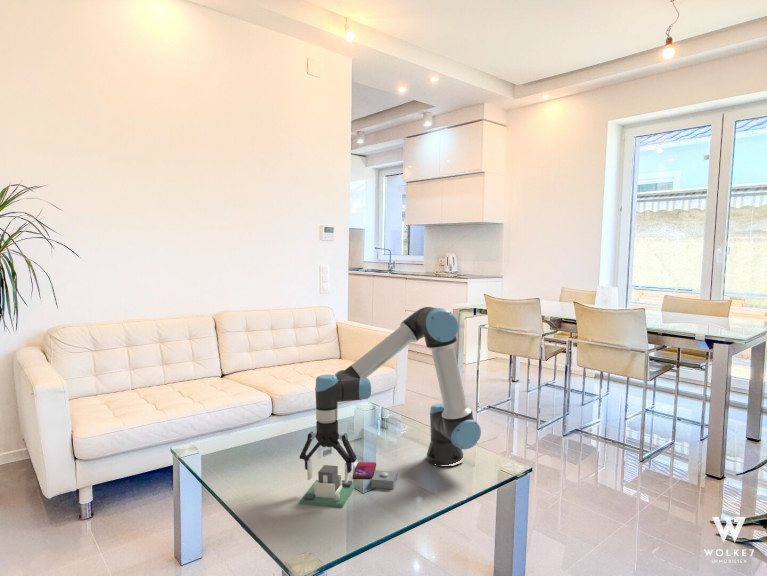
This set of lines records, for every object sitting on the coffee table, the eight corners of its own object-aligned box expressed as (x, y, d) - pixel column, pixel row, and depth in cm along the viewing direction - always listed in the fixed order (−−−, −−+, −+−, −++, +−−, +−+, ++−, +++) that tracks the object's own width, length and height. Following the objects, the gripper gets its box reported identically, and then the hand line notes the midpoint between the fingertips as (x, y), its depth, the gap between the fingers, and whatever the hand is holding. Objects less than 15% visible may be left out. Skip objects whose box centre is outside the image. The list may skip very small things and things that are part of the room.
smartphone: (376, 462, 196) (372, 477, 181) (376, 464, 196) (372, 479, 181) (357, 462, 197) (352, 477, 182) (357, 464, 197) (352, 479, 182)
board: (355, 486, 175) (355, 470, 175) (342, 507, 159) (342, 490, 159) (316, 483, 178) (315, 468, 178) (299, 503, 163) (299, 487, 162)
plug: (338, 488, 171) (337, 466, 171) (332, 495, 165) (332, 472, 165) (324, 487, 172) (324, 464, 172) (318, 494, 166) (318, 471, 166)
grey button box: (397, 479, 180) (397, 470, 180) (393, 489, 172) (393, 479, 172) (376, 478, 182) (376, 468, 182) (371, 487, 174) (371, 477, 174)
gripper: (364, 418, 169) (365, 477, 170) (297, 415, 174) (298, 472, 175) (358, 425, 162) (360, 487, 162) (289, 421, 167) (290, 481, 168)
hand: (328, 480), depth 169 cm, fingers open, 13 cm apart
